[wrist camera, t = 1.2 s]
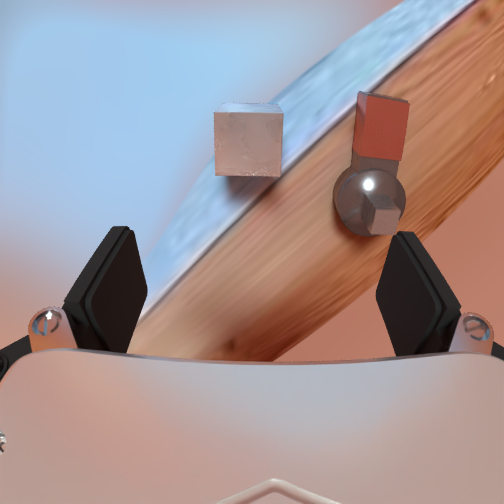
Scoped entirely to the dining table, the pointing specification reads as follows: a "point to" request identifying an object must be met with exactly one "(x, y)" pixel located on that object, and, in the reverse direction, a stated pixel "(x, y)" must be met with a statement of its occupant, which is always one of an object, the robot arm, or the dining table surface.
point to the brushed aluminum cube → (248, 139)
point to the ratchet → (374, 167)
